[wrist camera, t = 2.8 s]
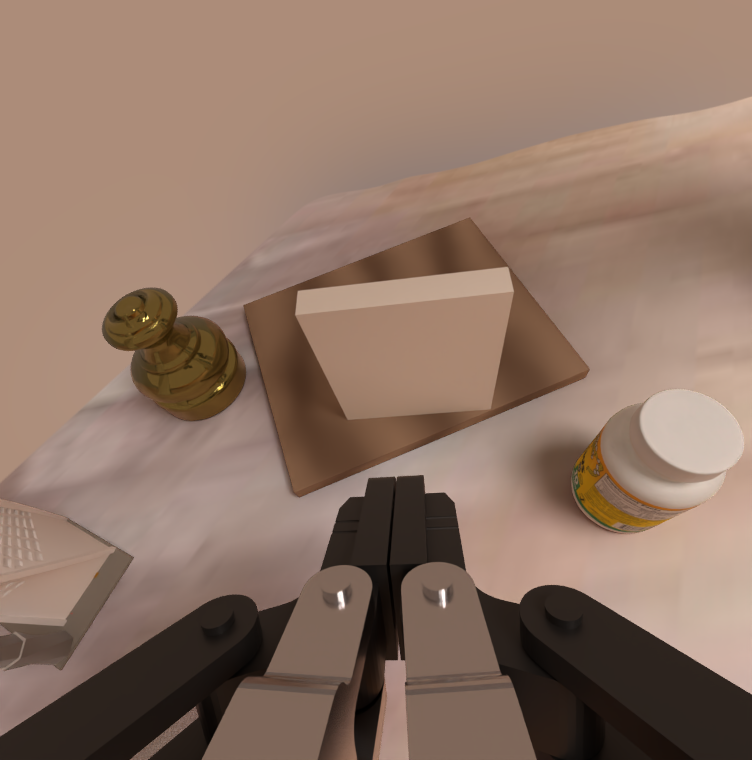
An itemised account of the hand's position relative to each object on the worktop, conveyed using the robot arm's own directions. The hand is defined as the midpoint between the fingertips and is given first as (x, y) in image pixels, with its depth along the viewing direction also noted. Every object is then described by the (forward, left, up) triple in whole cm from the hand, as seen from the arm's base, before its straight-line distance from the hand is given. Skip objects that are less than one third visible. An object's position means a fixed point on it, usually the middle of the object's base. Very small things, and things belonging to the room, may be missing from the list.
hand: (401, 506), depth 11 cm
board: (-5, -16, -16) cm, 24 cm away
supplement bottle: (-13, 0, -17) cm, 21 cm away
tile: (-4, -10, -15) cm, 18 cm away
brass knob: (+11, -20, -17) cm, 28 cm away
